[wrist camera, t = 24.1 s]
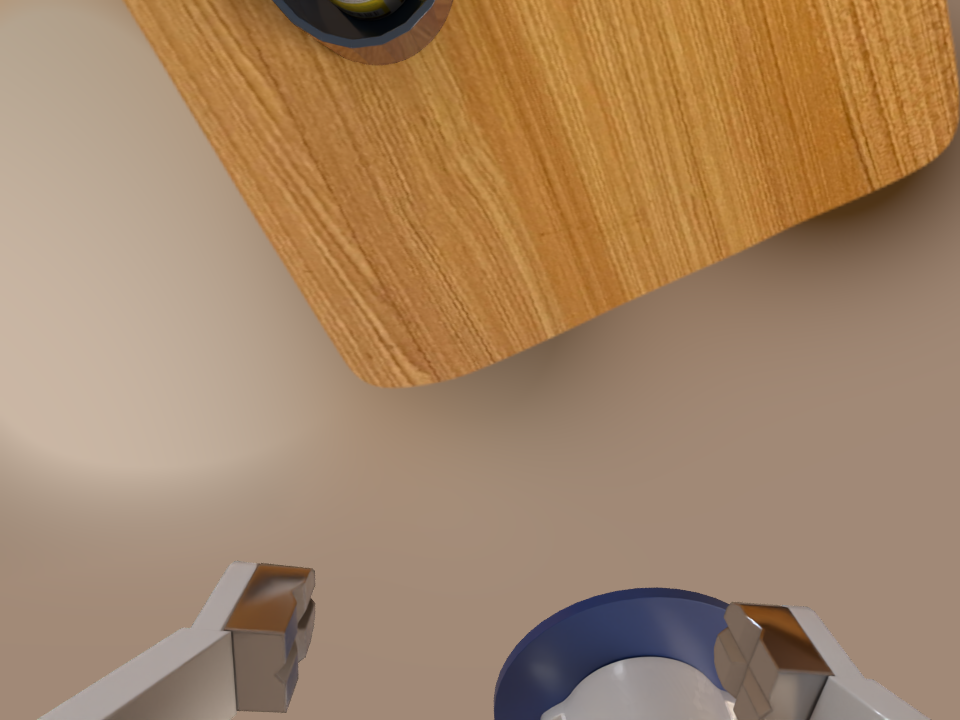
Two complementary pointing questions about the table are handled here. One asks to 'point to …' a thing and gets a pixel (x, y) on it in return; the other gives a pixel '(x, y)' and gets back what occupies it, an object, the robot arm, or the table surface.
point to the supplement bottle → (368, 8)
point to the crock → (369, 28)
